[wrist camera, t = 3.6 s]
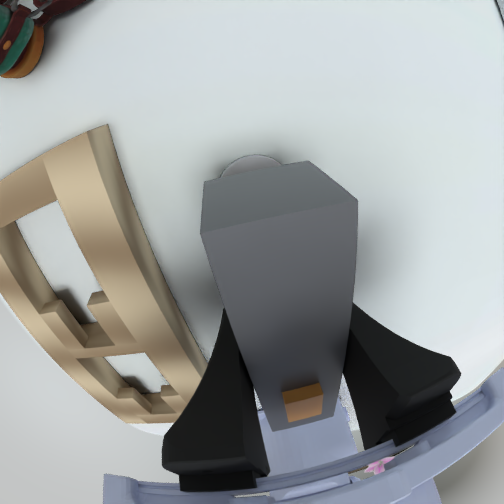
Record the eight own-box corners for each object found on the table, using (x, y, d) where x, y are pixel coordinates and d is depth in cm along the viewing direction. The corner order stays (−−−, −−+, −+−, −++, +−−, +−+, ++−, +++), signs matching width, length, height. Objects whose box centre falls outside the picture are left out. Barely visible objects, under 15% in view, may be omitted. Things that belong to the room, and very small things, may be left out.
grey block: (205, 162, 11) (199, 248, 5) (288, 146, 11) (370, 211, 5) (256, 350, 18) (274, 440, 12) (306, 338, 18) (336, 424, 12)
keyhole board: (-20, 197, 9) (-42, 214, 7) (107, 124, 9) (86, 131, 7) (128, 404, 21) (126, 423, 19) (226, 395, 21) (228, 417, 20)
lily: (398, 440, 62) (399, 462, 53) (395, 456, 64) (395, 476, 55) (363, 445, 66) (362, 467, 57) (363, 461, 68) (361, 481, 60)
